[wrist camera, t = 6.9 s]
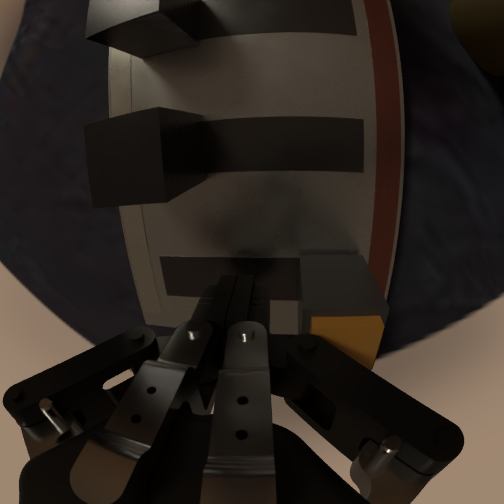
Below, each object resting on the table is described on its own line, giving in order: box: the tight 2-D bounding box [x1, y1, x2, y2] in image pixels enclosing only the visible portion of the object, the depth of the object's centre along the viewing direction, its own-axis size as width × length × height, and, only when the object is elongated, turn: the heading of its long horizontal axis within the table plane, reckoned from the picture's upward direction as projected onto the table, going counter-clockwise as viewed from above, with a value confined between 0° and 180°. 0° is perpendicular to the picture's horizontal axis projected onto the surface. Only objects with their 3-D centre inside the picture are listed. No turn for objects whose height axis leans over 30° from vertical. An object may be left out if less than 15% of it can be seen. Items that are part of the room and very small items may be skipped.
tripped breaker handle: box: [298, 254, 390, 370], centre depth 11 cm, size 3×3×5 cm
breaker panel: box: [84, 0, 405, 335], centre depth 10 cm, size 14×20×6 cm
